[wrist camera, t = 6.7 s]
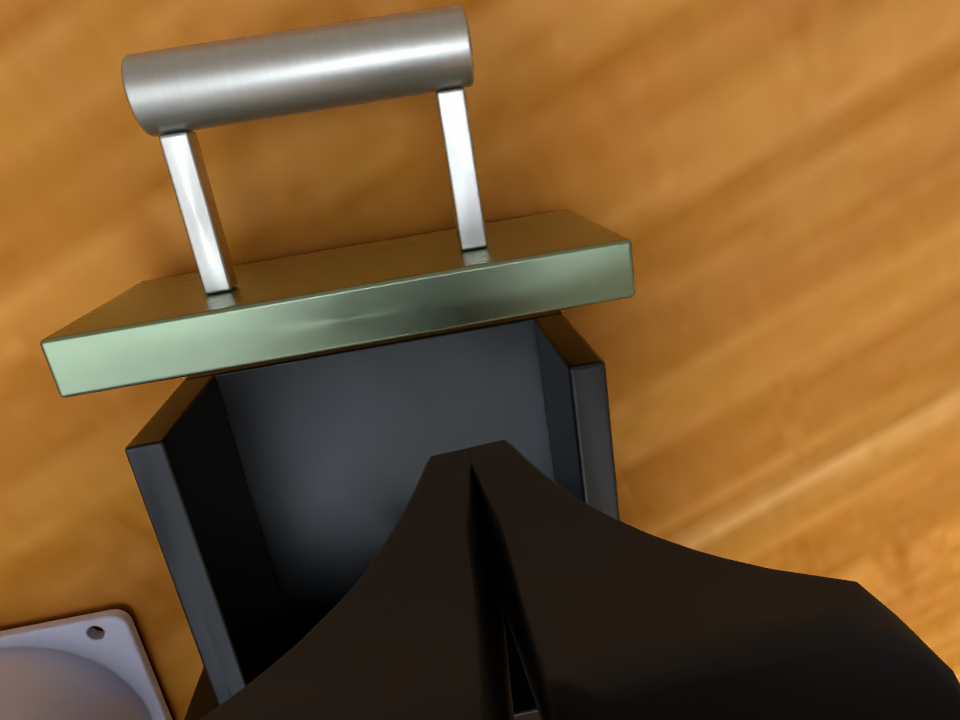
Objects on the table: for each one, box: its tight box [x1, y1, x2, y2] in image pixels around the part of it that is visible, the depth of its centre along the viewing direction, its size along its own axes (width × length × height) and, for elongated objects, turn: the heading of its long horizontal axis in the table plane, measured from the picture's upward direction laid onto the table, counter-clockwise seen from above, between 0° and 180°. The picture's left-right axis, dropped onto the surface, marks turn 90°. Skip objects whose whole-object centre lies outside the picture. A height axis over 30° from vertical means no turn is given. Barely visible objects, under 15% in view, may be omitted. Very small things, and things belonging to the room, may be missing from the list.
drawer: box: [41, 5, 635, 706], centre depth 17 cm, size 19×11×5 cm, turn 9°
